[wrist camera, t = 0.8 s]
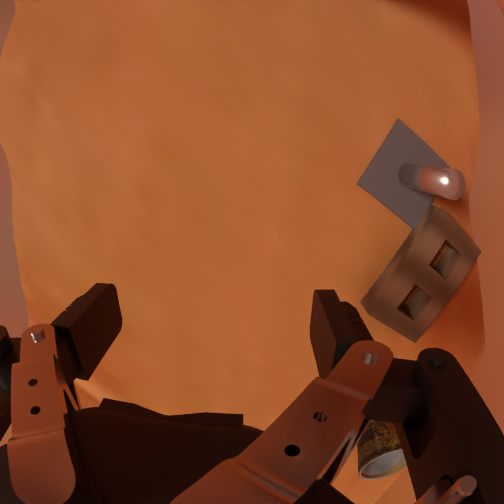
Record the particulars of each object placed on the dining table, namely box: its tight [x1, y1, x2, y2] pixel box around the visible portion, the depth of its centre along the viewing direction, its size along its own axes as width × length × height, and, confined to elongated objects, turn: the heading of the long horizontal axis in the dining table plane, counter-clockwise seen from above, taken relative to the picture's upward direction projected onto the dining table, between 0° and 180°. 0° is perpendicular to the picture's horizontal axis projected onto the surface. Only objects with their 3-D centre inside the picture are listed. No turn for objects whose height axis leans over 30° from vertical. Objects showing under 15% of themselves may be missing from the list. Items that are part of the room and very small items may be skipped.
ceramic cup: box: [357, 420, 407, 480], centre depth 42 cm, size 13×10×10 cm
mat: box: [357, 119, 451, 229], centre depth 33 cm, size 10×10×1 cm
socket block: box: [361, 205, 481, 343], centre depth 36 cm, size 16×10×4 cm, turn 148°
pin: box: [398, 163, 465, 200], centre depth 28 cm, size 3×3×10 cm
